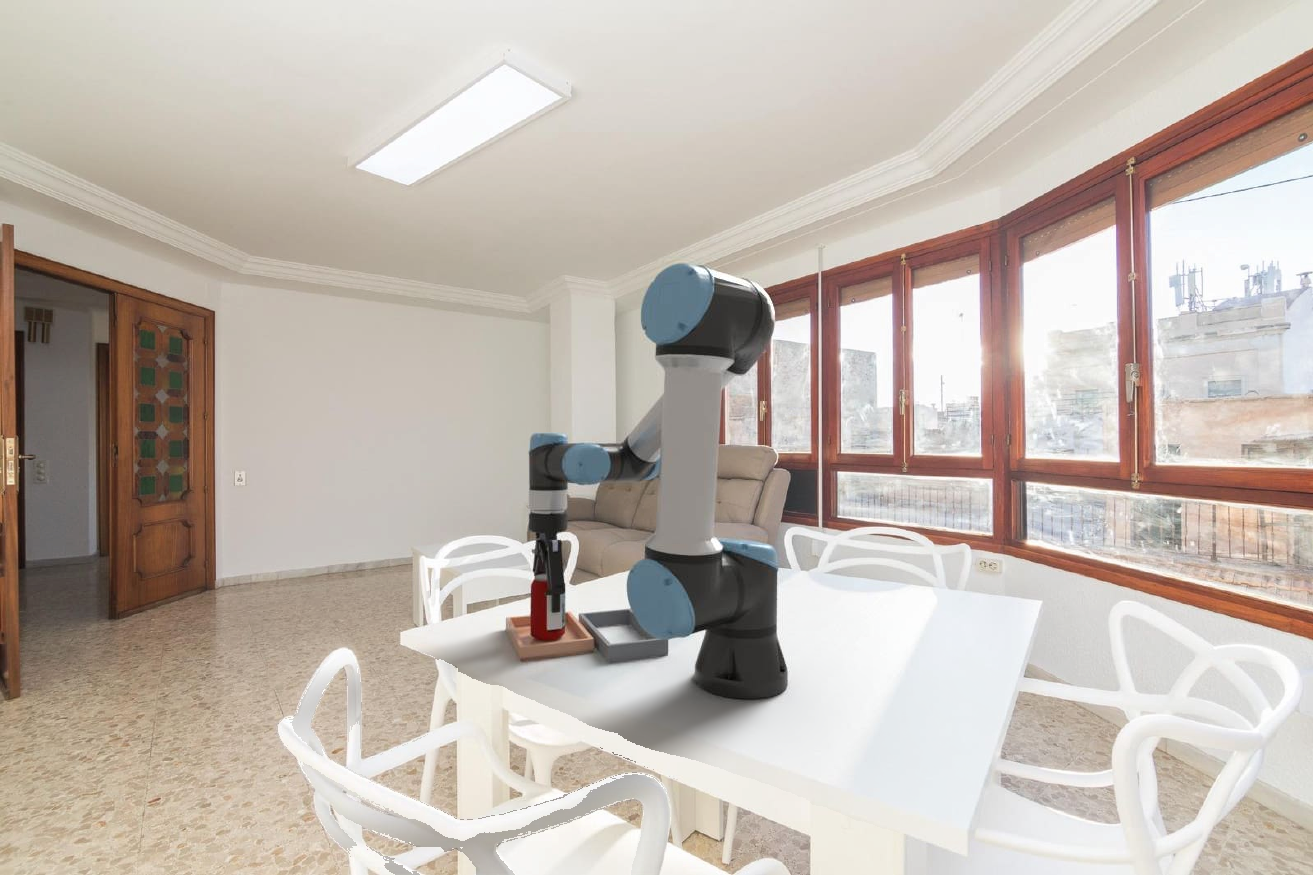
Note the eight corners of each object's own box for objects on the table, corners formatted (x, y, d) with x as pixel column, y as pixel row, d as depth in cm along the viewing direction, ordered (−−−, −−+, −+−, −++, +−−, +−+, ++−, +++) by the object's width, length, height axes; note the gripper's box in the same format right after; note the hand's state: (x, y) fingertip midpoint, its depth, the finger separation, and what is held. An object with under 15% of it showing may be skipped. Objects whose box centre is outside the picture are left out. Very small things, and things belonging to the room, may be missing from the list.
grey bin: (668, 655, 111) (668, 638, 111) (607, 662, 107) (607, 645, 107) (630, 622, 131) (630, 608, 131) (578, 627, 127) (578, 613, 127)
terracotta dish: (593, 652, 112) (593, 639, 112) (519, 661, 107) (519, 647, 107) (570, 622, 130) (570, 611, 130) (505, 629, 125) (505, 617, 125)
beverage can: (561, 643, 115) (562, 580, 115) (526, 642, 115) (527, 579, 115) (567, 632, 122) (568, 572, 122) (534, 631, 122) (535, 572, 122)
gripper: (582, 517, 109) (581, 635, 108) (554, 504, 132) (553, 601, 132) (540, 519, 106) (539, 640, 106) (519, 505, 129) (518, 604, 129)
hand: (547, 619), depth 119 cm, fingers open, 13 cm apart
